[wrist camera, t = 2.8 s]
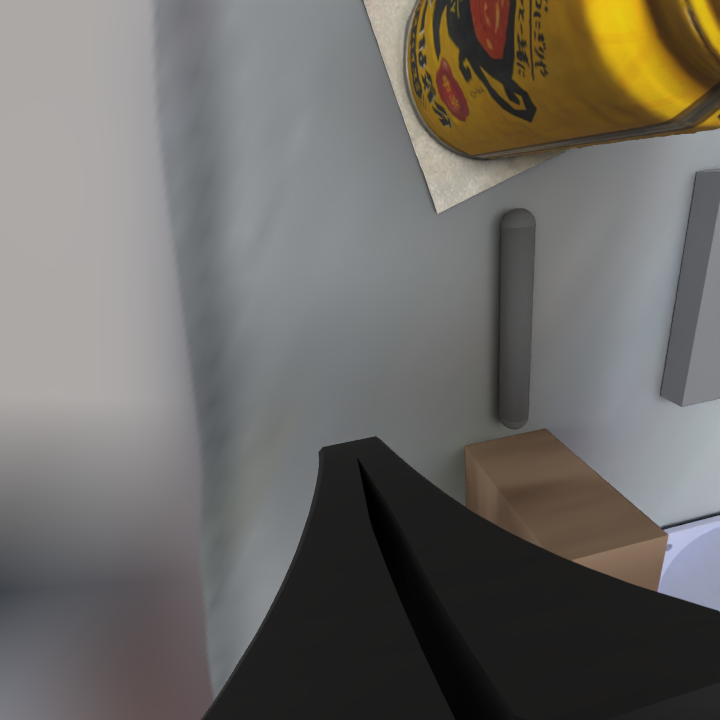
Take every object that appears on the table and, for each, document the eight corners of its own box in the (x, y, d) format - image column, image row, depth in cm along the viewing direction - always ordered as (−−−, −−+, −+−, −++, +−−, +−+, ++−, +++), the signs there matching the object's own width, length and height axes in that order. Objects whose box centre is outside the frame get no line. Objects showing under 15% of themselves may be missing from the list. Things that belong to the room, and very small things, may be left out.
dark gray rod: (518, 418, 20) (533, 431, 19) (493, 423, 20) (507, 436, 19) (524, 205, 17) (542, 207, 16) (495, 209, 17) (511, 211, 16)
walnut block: (541, 497, 23) (651, 620, 16) (466, 515, 22) (549, 650, 16) (545, 428, 21) (668, 534, 15) (464, 445, 20) (556, 564, 14)
